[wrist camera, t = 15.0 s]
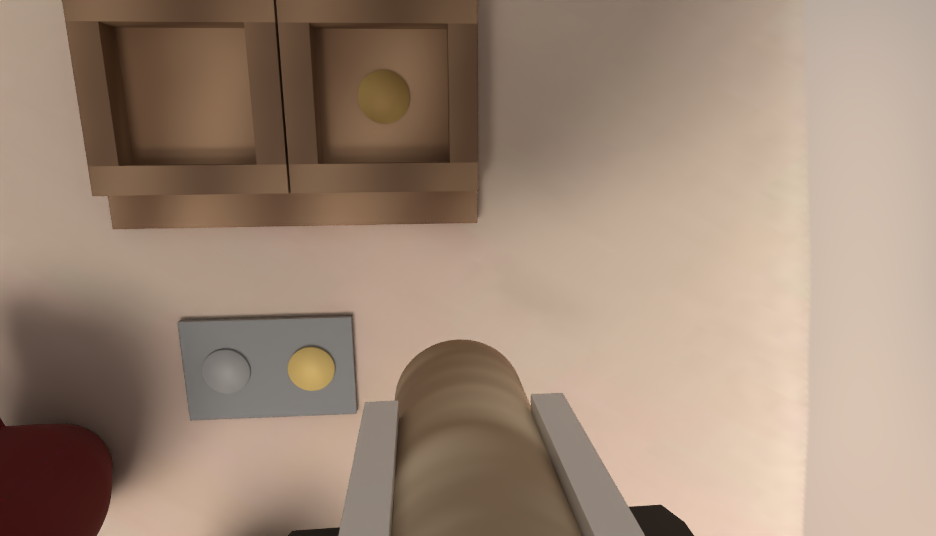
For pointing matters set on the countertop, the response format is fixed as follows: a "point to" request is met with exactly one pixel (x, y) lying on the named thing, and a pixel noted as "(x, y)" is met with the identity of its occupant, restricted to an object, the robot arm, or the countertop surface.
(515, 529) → the peg
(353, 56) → the board
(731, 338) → the countertop surface
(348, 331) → the key tile
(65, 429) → the mug
